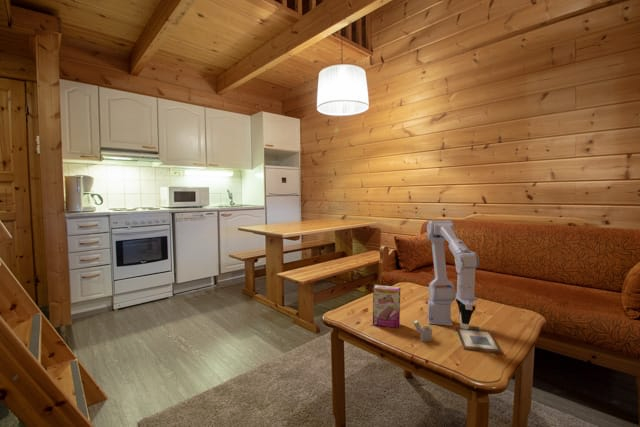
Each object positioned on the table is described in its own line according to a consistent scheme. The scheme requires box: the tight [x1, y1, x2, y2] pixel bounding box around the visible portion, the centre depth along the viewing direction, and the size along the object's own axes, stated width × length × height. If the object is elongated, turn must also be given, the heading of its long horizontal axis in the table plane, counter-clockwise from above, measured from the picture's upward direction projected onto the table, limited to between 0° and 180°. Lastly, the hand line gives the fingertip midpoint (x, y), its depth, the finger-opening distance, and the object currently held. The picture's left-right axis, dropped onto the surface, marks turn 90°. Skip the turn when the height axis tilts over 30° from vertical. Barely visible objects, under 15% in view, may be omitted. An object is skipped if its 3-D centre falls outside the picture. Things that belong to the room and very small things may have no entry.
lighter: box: [412, 319, 433, 342], centre depth 114 cm, size 7×2×8 cm, turn 100°
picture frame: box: [455, 325, 502, 354], centre depth 113 cm, size 12×16×2 cm
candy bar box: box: [372, 284, 401, 329], centre depth 127 cm, size 11×5×16 cm, turn 74°
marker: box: [459, 303, 470, 329], centre depth 109 cm, size 3×3×8 cm
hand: (464, 321), depth 109 cm, fingers closed on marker, 3 cm apart
